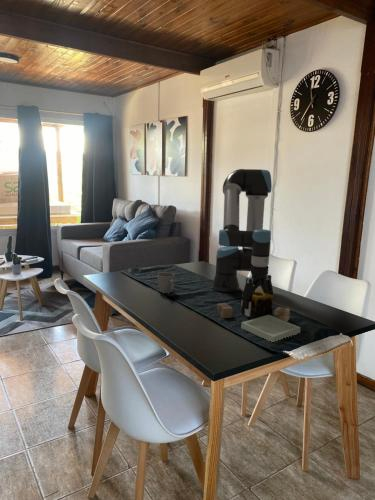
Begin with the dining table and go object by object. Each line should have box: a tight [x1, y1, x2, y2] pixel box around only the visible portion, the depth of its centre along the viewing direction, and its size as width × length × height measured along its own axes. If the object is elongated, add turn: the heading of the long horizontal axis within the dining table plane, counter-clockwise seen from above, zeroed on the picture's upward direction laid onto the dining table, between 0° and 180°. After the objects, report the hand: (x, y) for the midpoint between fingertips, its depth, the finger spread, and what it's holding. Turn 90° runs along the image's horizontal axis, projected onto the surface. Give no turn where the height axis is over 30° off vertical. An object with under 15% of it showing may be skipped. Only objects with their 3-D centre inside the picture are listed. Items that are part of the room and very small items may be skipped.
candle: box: [240, 289, 274, 320], centre depth 164 cm, size 10×10×10 cm
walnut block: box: [216, 302, 234, 319], centre depth 164 cm, size 7×4×4 cm, turn 17°
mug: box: [157, 271, 175, 294], centre depth 193 cm, size 12×9×10 cm
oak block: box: [273, 306, 291, 322], centre depth 160 cm, size 5×5×5 cm
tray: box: [240, 315, 301, 343], centre depth 149 cm, size 16×16×2 cm
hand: (256, 313), depth 165 cm, fingers closed on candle, 11 cm apart
